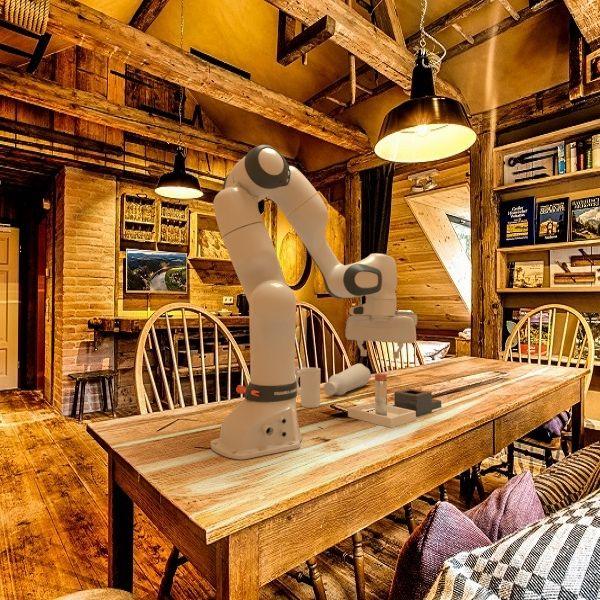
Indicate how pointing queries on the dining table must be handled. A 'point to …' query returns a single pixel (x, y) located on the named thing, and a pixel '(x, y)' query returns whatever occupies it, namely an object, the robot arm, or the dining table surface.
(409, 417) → the tray
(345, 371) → the bottle
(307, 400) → the mug
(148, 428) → the dining table surface
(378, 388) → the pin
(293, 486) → the dining table surface
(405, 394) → the block
